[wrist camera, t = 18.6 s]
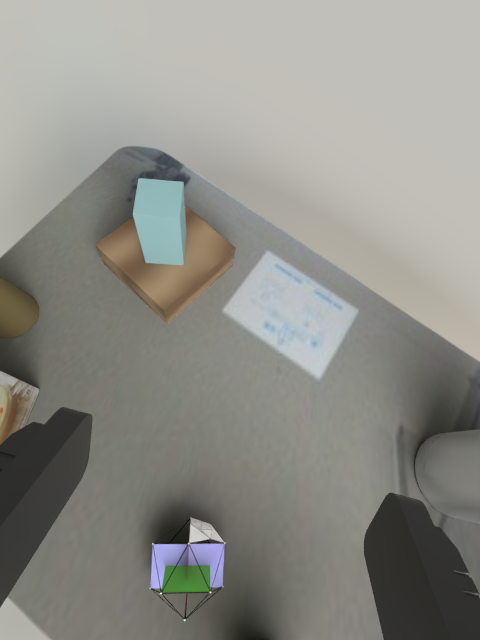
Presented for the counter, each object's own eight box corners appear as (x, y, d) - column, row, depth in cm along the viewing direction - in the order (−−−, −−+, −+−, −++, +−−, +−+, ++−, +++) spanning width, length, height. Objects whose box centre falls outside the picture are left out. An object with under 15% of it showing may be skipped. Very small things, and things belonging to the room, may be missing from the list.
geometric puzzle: (222, 630, 33) (229, 590, 29) (145, 632, 32) (141, 591, 28) (221, 546, 39) (227, 504, 35) (157, 547, 38) (155, 503, 34)
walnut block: (231, 267, 50) (235, 247, 45) (167, 325, 46) (163, 310, 41) (171, 214, 52) (168, 190, 47) (104, 265, 48) (94, 244, 43)
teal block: (186, 234, 45) (183, 182, 37) (183, 265, 43) (179, 217, 35) (150, 231, 45) (138, 178, 36) (145, 262, 43) (132, 214, 35)
